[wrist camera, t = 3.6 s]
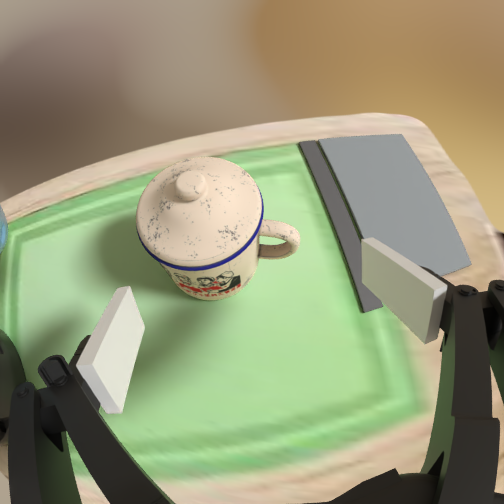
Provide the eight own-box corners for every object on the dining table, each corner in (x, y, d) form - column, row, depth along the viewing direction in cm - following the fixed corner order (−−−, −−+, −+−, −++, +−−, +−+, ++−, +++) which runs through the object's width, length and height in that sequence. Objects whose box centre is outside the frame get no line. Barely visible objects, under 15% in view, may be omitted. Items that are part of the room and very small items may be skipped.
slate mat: (383, 295, 26) (384, 294, 26) (318, 141, 34) (318, 139, 34) (469, 265, 27) (471, 264, 27) (400, 136, 35) (401, 134, 35)
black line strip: (363, 312, 25) (364, 312, 25) (299, 143, 34) (299, 142, 34) (381, 307, 26) (383, 306, 25) (314, 142, 34) (314, 140, 34)
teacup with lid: (156, 295, 26) (99, 238, 16) (179, 211, 30) (148, 129, 19) (286, 315, 25) (309, 267, 15) (295, 225, 29) (315, 140, 19)
